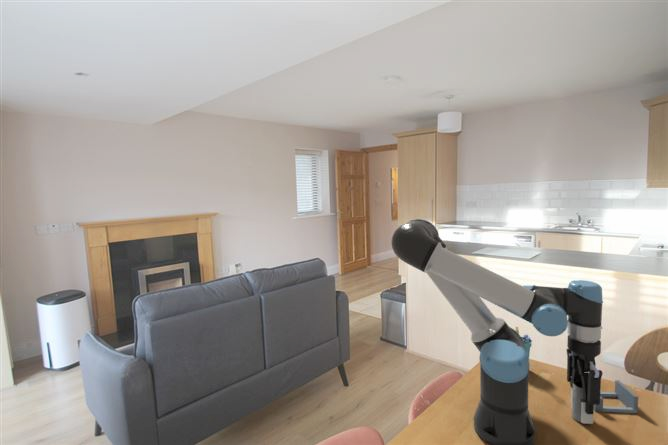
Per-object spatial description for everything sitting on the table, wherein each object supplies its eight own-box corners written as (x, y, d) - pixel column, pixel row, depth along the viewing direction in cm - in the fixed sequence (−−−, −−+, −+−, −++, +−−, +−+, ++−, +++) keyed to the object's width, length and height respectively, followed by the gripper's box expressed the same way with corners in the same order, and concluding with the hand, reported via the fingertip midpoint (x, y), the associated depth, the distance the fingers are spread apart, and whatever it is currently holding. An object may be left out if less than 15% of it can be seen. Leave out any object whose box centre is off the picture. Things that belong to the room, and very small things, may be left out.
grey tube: (582, 425, 97) (583, 390, 96) (568, 415, 101) (568, 381, 100) (595, 422, 98) (596, 387, 97) (580, 412, 103) (581, 378, 101)
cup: (542, 380, 119) (542, 338, 118) (518, 380, 120) (518, 338, 118) (522, 360, 133) (523, 321, 132) (501, 360, 134) (501, 322, 132)
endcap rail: (595, 411, 103) (595, 395, 102) (579, 394, 111) (579, 378, 111) (637, 413, 101) (638, 396, 101) (618, 395, 109) (618, 380, 109)
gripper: (619, 352, 88) (616, 439, 91) (581, 324, 105) (579, 398, 108) (586, 351, 89) (584, 437, 92) (554, 324, 107) (552, 397, 109)
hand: (581, 416), depth 100 cm, fingers closed on grey tube, 5 cm apart
